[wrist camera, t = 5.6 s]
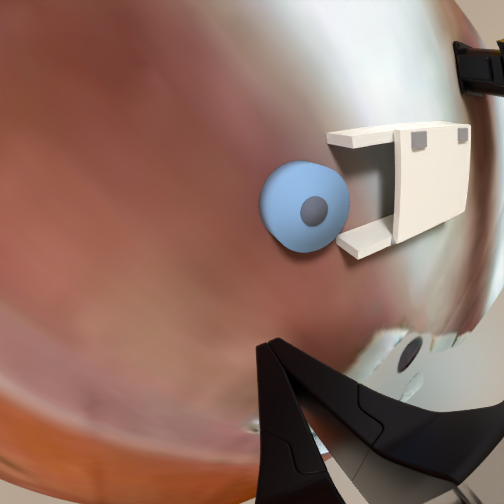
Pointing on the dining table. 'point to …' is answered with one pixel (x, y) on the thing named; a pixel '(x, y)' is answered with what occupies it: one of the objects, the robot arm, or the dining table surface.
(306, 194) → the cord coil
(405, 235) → the cover
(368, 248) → the white channel bracket
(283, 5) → the dining table surface
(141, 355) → the dining table surface
